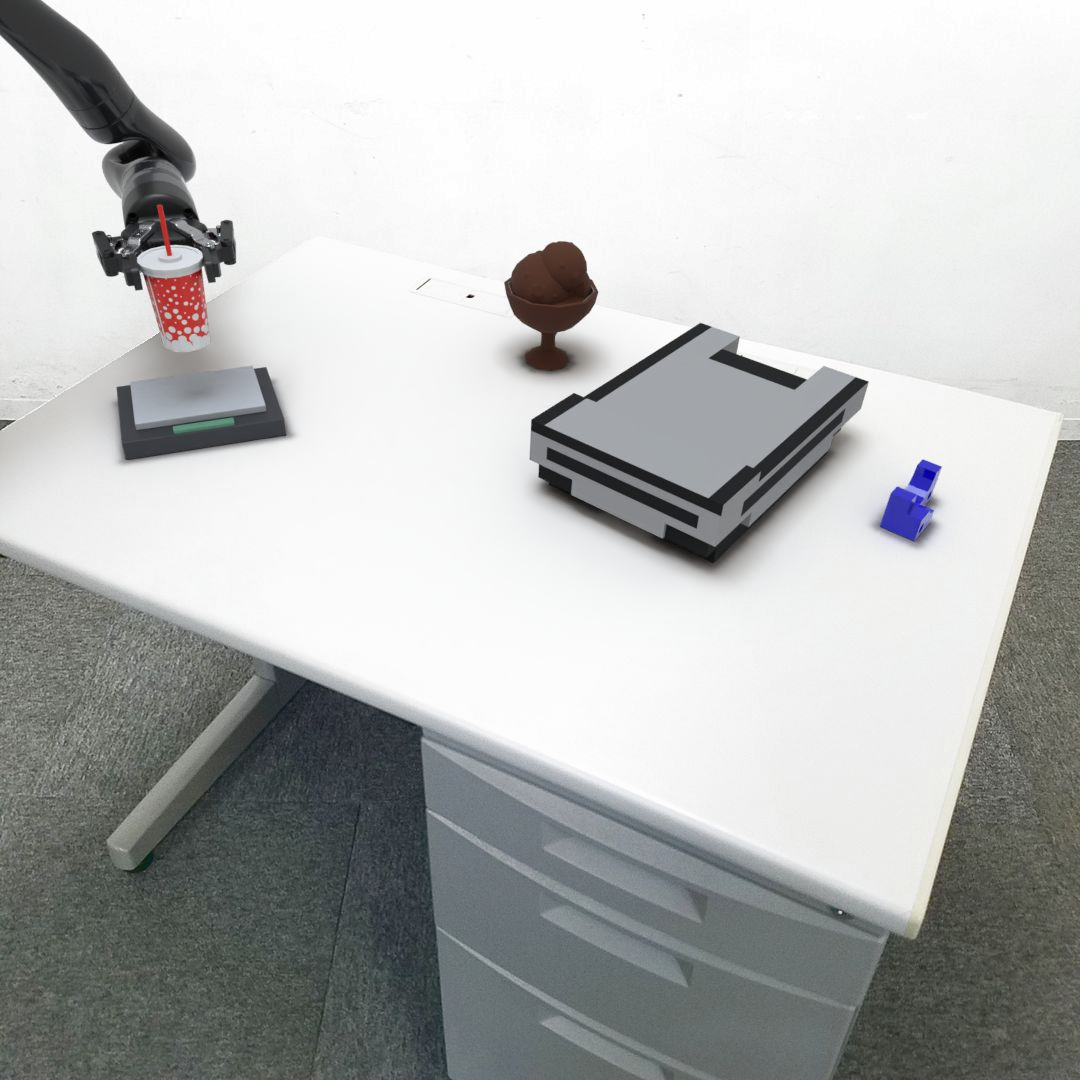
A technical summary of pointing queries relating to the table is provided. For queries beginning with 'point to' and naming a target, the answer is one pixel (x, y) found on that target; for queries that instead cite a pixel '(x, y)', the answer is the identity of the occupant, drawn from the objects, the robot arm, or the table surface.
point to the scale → (198, 411)
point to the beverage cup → (176, 293)
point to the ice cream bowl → (551, 298)
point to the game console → (693, 439)
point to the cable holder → (912, 503)
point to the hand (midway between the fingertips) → (174, 276)
